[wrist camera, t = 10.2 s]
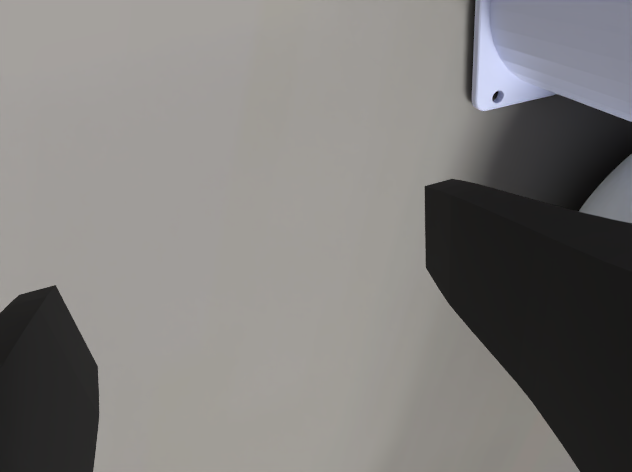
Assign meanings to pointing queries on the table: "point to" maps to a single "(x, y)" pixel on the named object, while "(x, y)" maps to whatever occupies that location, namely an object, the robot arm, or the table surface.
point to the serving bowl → (613, 195)
